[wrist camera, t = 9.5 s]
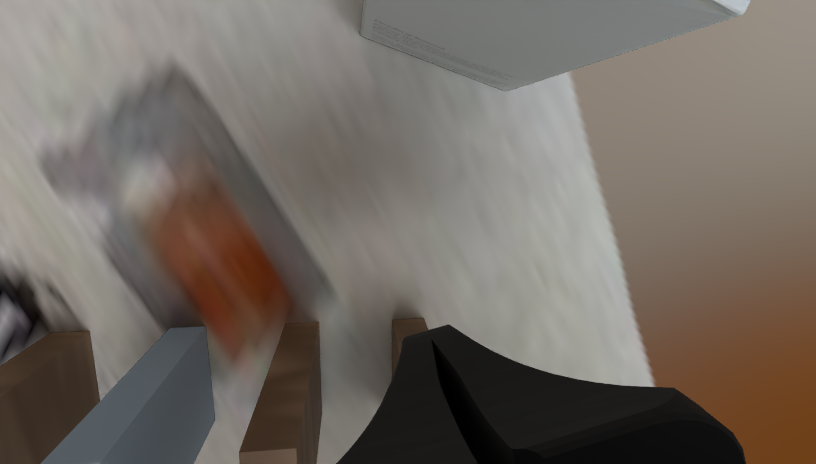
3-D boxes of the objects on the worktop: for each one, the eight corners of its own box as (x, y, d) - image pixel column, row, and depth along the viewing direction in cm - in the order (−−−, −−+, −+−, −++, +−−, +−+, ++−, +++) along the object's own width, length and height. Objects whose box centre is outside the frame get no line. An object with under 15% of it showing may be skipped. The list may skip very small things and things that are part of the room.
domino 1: (89, 331, 20) (-111, 479, 11) (103, 427, 21) (-69, 629, 13) (51, 332, 20) (-182, 484, 11) (67, 429, 21) (-134, 636, 12)
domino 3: (319, 322, 21) (296, 448, 13) (321, 413, 23) (302, 587, 14) (285, 323, 21) (238, 452, 13) (290, 415, 22) (249, 593, 14)
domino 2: (205, 326, 21) (99, 462, 12) (215, 419, 22) (123, 607, 13) (170, 327, 21) (36, 468, 12) (181, 421, 22) (66, 614, 13)
